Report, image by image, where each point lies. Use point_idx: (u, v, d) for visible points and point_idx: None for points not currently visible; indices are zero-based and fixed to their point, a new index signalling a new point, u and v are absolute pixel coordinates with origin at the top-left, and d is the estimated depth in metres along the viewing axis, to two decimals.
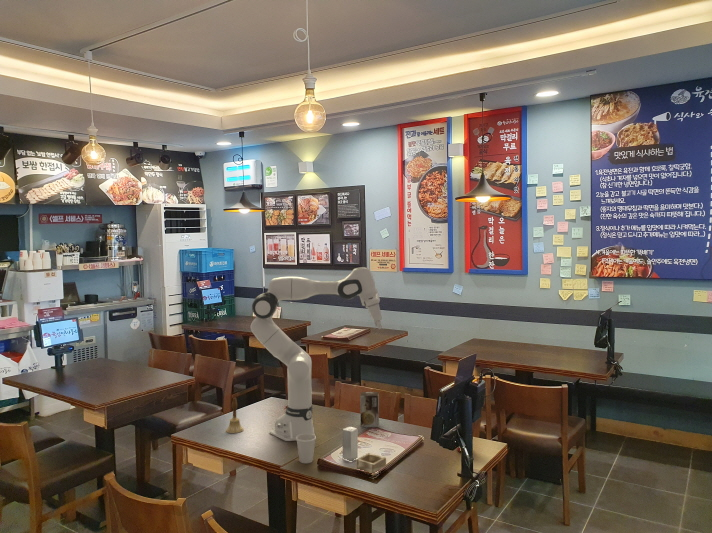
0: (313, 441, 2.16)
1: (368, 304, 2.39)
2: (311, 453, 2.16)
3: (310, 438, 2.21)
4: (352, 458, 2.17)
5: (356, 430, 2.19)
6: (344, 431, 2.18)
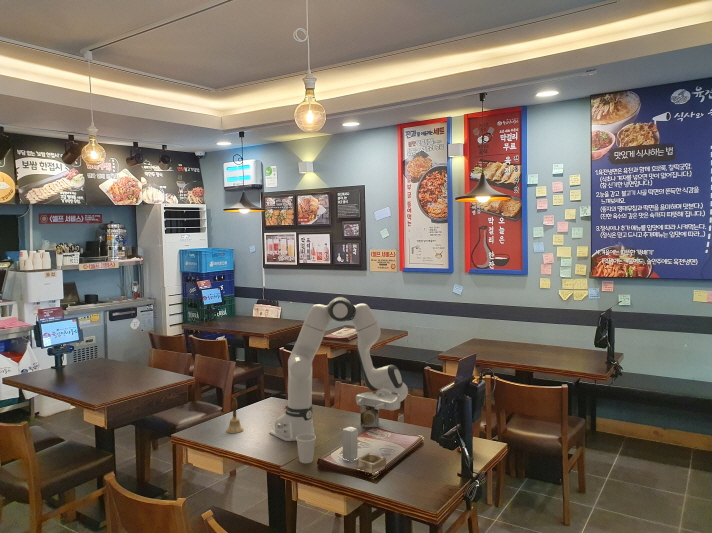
0: (313, 441, 2.16)
1: (399, 397, 2.34)
2: (311, 453, 2.16)
3: (310, 438, 2.21)
4: (352, 458, 2.17)
5: (356, 430, 2.19)
6: (344, 431, 2.18)
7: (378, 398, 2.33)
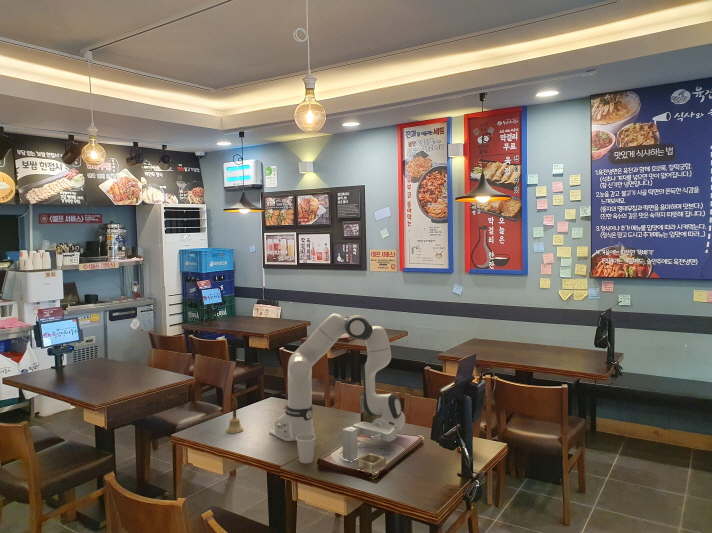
0: (313, 441, 2.16)
1: (396, 427, 2.33)
2: (311, 453, 2.16)
3: (310, 438, 2.21)
4: (352, 458, 2.17)
5: (356, 430, 2.19)
6: (344, 431, 2.18)
7: (375, 428, 2.32)
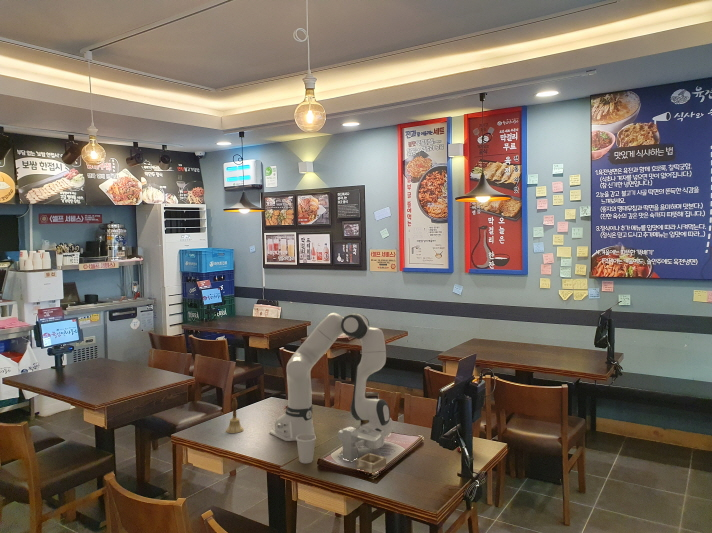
0: (313, 441, 2.16)
1: (383, 434, 2.24)
2: (311, 453, 2.16)
3: (310, 438, 2.21)
4: (352, 458, 2.17)
5: (356, 430, 2.19)
6: (344, 431, 2.18)
7: (361, 435, 2.23)
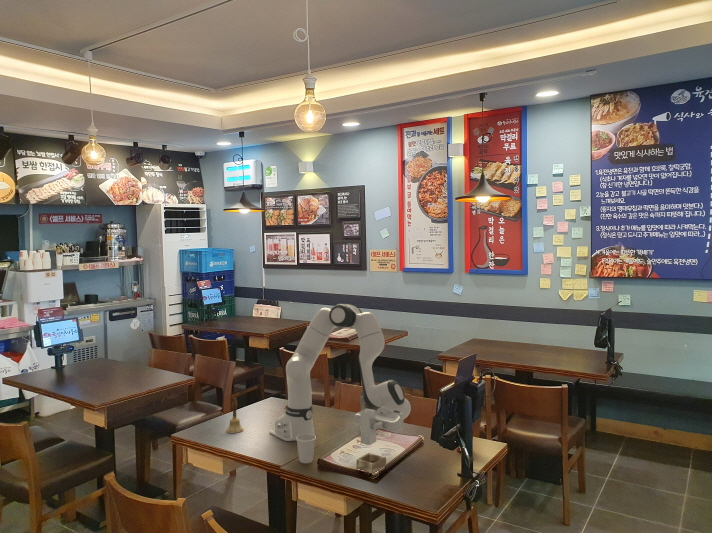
0: (313, 441, 2.16)
1: (402, 416, 2.16)
2: (311, 453, 2.16)
3: (310, 438, 2.21)
4: (371, 441, 2.09)
5: (374, 412, 2.11)
6: (362, 413, 2.10)
7: (379, 417, 2.15)
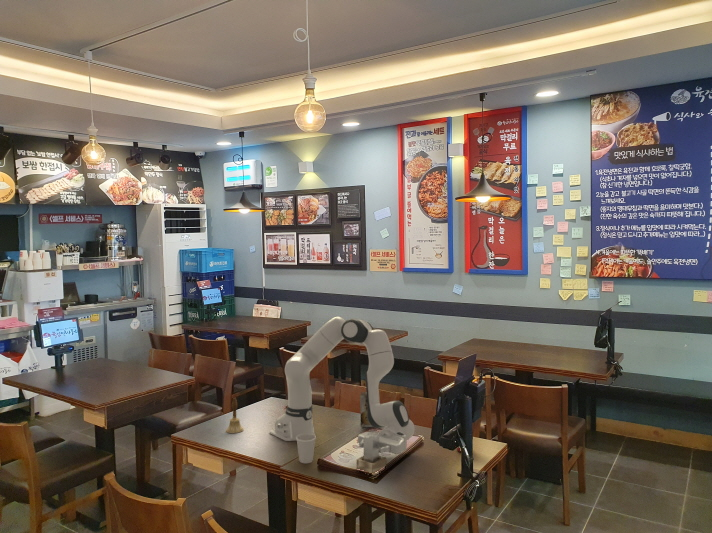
0: (313, 441, 2.16)
1: (405, 438, 2.14)
2: (311, 453, 2.16)
3: (310, 438, 2.21)
4: None
5: (378, 437, 2.09)
6: (365, 438, 2.08)
7: (382, 439, 2.13)
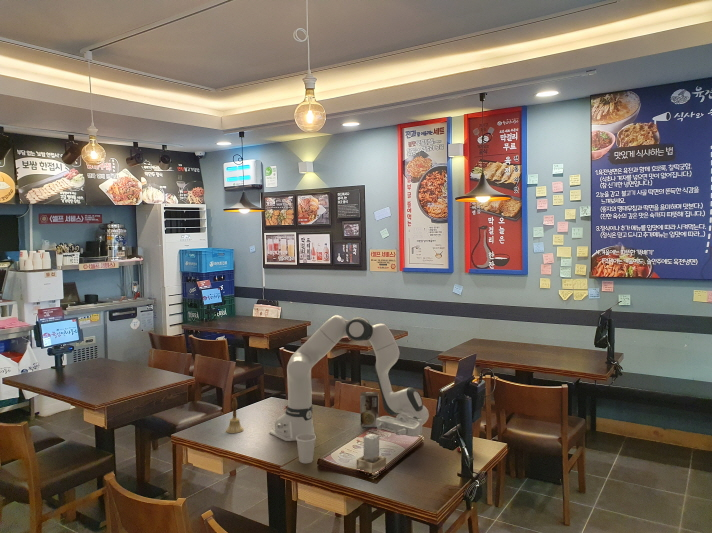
0: (313, 441, 2.16)
1: (421, 422, 2.26)
2: (311, 453, 2.16)
3: (310, 438, 2.21)
4: None
5: (378, 437, 2.09)
6: (365, 438, 2.08)
7: (399, 423, 2.25)
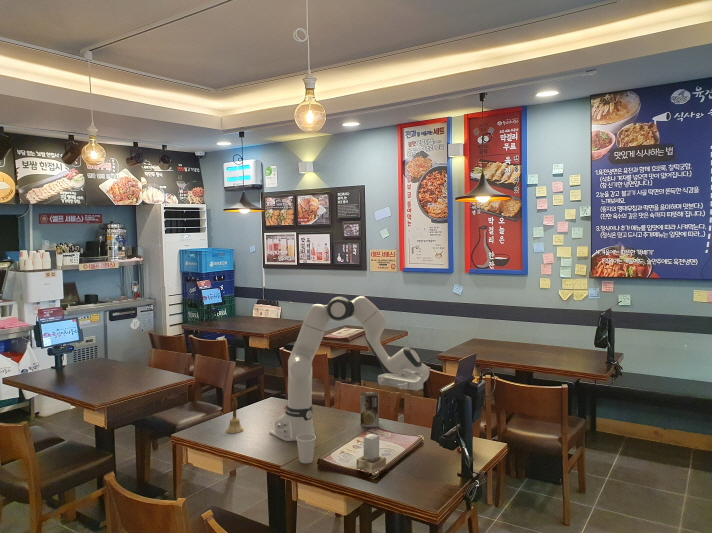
0: (313, 441, 2.16)
1: (422, 377, 2.30)
2: (311, 453, 2.16)
3: (310, 438, 2.21)
4: None
5: (378, 437, 2.09)
6: (365, 438, 2.08)
7: (401, 378, 2.29)
